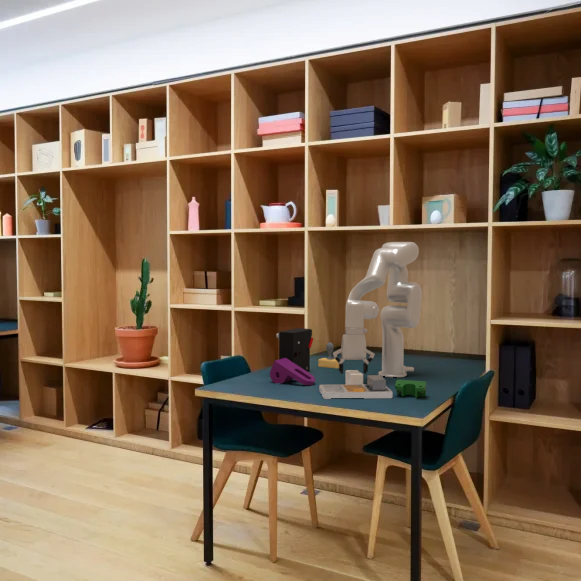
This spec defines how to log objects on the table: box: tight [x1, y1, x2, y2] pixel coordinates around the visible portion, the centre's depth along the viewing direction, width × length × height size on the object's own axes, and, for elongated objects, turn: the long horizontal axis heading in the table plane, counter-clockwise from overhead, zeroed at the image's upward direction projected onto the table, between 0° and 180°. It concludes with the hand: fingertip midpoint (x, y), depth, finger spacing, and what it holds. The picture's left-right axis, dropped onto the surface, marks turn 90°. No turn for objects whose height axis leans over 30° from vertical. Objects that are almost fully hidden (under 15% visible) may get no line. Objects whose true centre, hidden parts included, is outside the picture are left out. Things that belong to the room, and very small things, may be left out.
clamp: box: [394, 379, 427, 399], centre depth 237 cm, size 12×6×9 cm, turn 64°
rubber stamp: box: [317, 342, 339, 369], centre depth 302 cm, size 10×6×12 cm, turn 62°
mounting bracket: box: [269, 358, 316, 386], centre depth 263 cm, size 9×8×18 cm
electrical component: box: [276, 327, 314, 375], centre depth 282 cm, size 18×10×20 cm, turn 150°
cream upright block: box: [344, 369, 364, 385], centre depth 255 cm, size 10×5×6 cm, turn 8°
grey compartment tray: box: [318, 374, 393, 400], centre depth 240 cm, size 26×14×6 cm, turn 95°
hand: (353, 373), depth 255 cm, fingers open, 9 cm apart
